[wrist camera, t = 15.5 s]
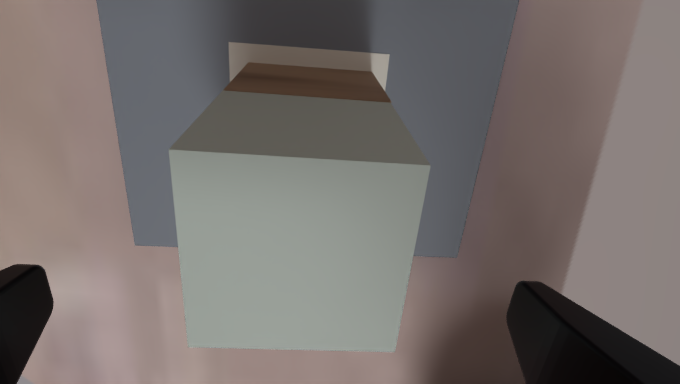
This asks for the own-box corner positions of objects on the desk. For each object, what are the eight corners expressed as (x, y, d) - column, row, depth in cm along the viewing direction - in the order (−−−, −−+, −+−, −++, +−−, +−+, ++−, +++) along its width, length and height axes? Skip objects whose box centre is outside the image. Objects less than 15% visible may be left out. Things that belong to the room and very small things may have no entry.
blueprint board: (451, 246, 22) (457, 258, 22) (142, 234, 21) (134, 245, 20) (514, -26, 17) (526, -27, 16) (98, -66, 16) (85, -69, 15)
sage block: (371, 241, 15) (394, 352, 10) (228, 235, 14) (188, 347, 10) (390, 102, 13) (430, 165, 8) (222, 90, 12) (168, 149, 8)
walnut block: (359, 182, 19) (372, 241, 15) (249, 176, 19) (228, 235, 14) (371, 71, 17) (391, 101, 13) (248, 62, 17) (223, 89, 12)
